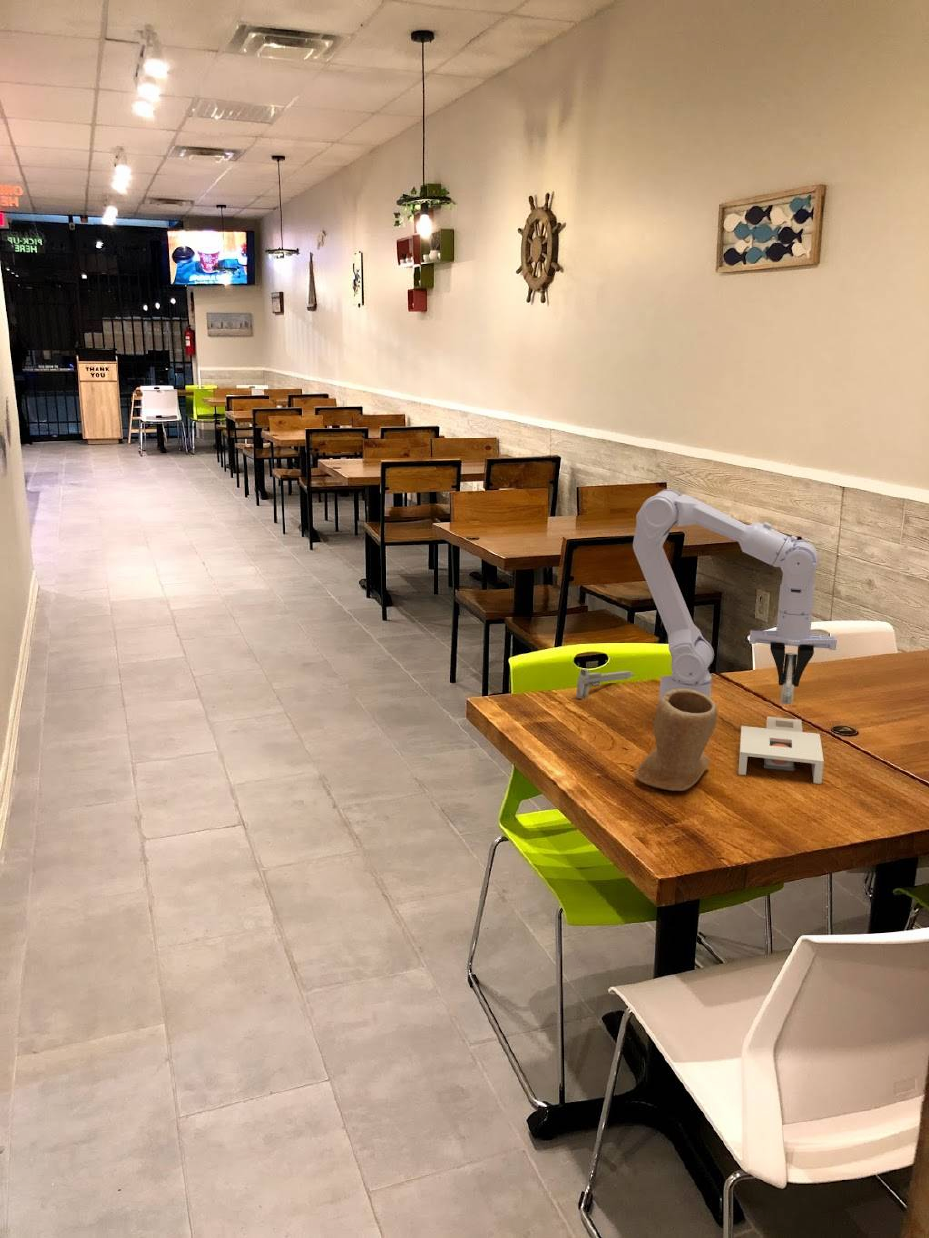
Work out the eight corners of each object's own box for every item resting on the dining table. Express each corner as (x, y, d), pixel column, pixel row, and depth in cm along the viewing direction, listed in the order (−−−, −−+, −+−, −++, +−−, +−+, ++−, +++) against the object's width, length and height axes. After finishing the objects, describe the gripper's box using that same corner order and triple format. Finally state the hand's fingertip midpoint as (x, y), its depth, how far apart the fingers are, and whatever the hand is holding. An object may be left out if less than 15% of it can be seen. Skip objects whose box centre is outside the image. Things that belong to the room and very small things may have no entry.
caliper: (580, 701, 194) (581, 671, 192) (576, 700, 195) (577, 670, 193) (634, 676, 209) (635, 648, 207) (629, 675, 210) (630, 647, 208)
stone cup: (698, 803, 150) (704, 713, 145) (626, 786, 156) (630, 699, 152) (727, 769, 162) (734, 685, 158) (660, 754, 168) (664, 672, 164)
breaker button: (764, 767, 162) (765, 750, 161) (764, 756, 166) (765, 739, 166) (794, 771, 161) (795, 753, 160) (793, 760, 165) (794, 742, 164)
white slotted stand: (738, 774, 160) (740, 751, 159) (739, 746, 171) (741, 725, 170) (821, 783, 156) (823, 761, 155) (817, 755, 167) (819, 733, 166)
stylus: (780, 703, 173) (785, 655, 170) (780, 699, 175) (785, 652, 172) (792, 704, 172) (797, 656, 170) (792, 700, 174) (796, 653, 172)
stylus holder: (766, 741, 173) (767, 728, 173) (765, 729, 179) (767, 716, 178) (801, 744, 172) (802, 731, 171) (800, 732, 177) (801, 719, 177)
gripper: (751, 613, 167) (745, 687, 171) (840, 619, 163) (832, 695, 167) (752, 603, 174) (746, 675, 177) (837, 609, 170) (830, 682, 173)
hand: (788, 684), depth 173 cm, fingers closed on stylus, 2 cm apart
